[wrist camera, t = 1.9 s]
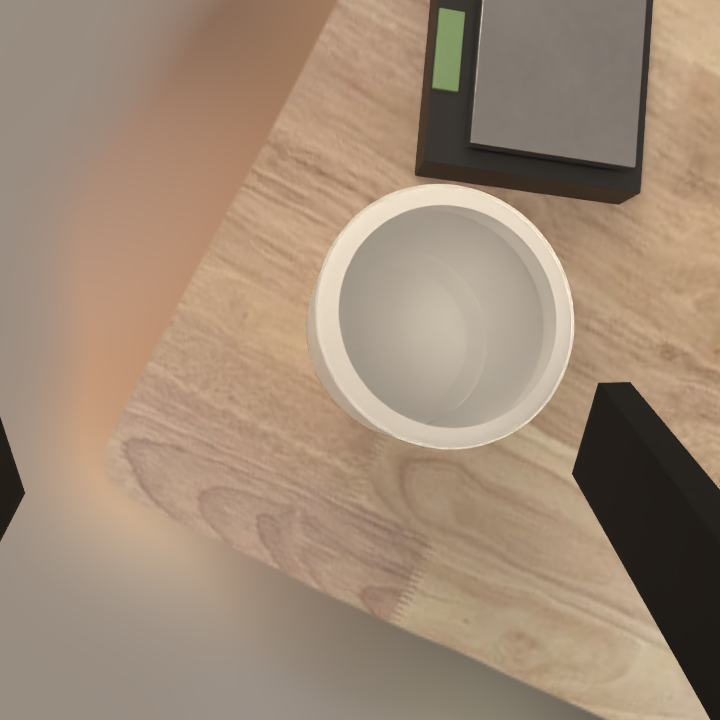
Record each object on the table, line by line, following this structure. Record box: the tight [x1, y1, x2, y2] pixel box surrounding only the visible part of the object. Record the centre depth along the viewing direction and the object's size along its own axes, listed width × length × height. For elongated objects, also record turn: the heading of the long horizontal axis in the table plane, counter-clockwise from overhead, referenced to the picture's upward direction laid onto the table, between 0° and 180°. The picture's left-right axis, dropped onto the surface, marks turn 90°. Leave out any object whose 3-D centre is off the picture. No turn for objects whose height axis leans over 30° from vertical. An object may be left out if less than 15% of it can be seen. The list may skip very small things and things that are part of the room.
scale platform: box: [467, 0, 647, 171], centre depth 38 cm, size 12×10×1 cm
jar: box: [306, 184, 574, 450], centre depth 31 cm, size 11×10×15 cm
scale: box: [415, 0, 653, 204], centre depth 40 cm, size 14×14×3 cm
